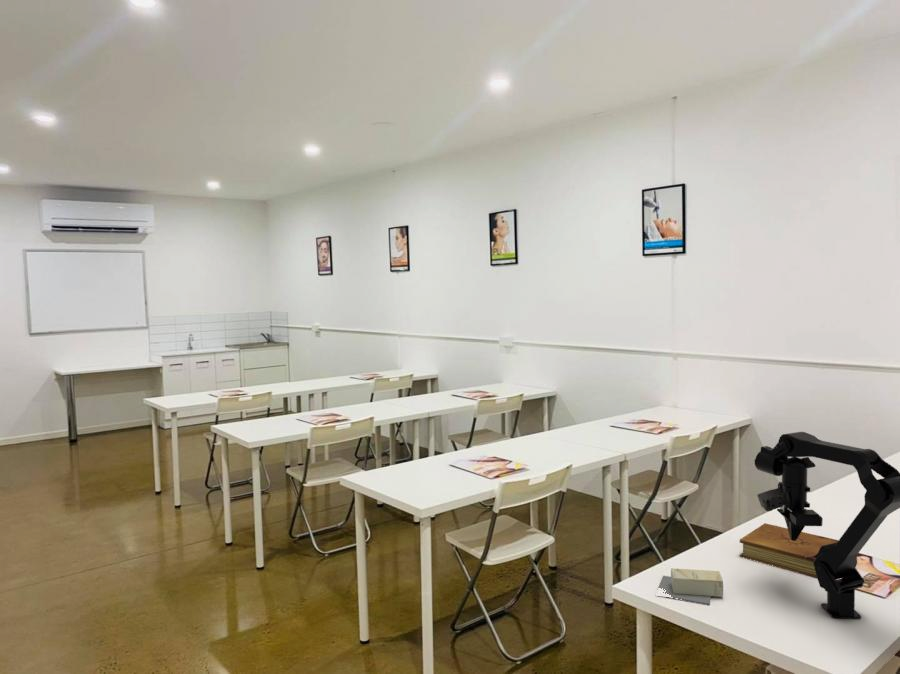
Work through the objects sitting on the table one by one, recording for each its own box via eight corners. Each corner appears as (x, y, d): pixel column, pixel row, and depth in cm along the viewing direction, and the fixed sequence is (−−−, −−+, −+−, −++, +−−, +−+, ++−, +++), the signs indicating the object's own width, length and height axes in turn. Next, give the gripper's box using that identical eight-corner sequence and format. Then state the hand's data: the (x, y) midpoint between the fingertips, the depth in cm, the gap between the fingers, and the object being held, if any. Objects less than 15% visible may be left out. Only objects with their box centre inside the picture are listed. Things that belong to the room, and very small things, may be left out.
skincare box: (723, 581, 166) (673, 577, 169) (723, 598, 166) (673, 594, 169) (719, 570, 172) (670, 567, 175) (718, 586, 173) (670, 583, 175)
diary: (848, 561, 187) (849, 541, 187) (825, 582, 175) (826, 561, 174) (765, 539, 204) (765, 521, 204) (739, 558, 192) (739, 538, 191)
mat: (713, 585, 174) (713, 583, 174) (709, 605, 163) (709, 603, 163) (663, 576, 180) (663, 575, 180) (655, 595, 169) (655, 594, 169)
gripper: (748, 470, 178) (747, 526, 179) (776, 492, 159) (775, 554, 161) (791, 470, 177) (790, 526, 178) (824, 493, 158) (822, 555, 160)
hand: (793, 540), depth 169 cm, fingers closed
